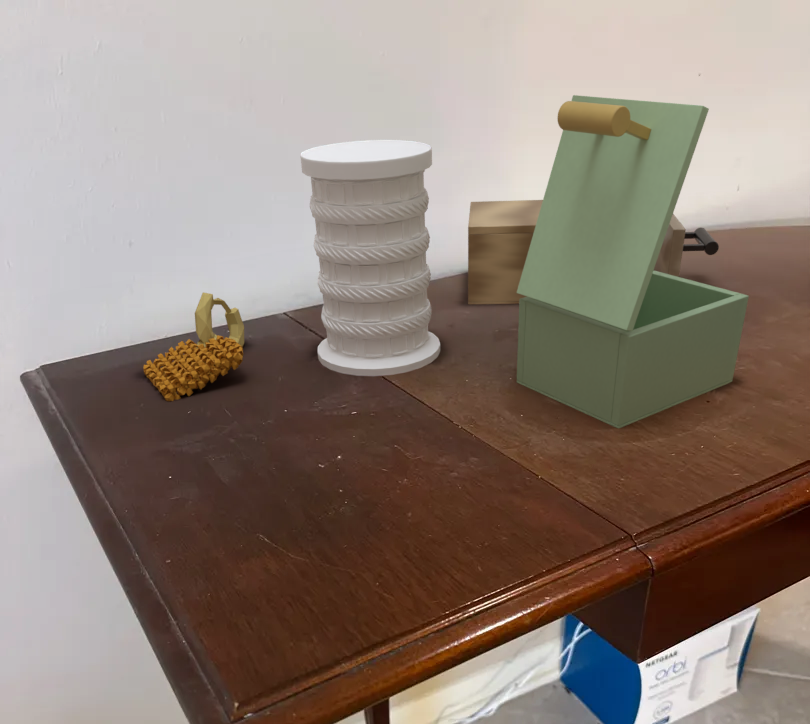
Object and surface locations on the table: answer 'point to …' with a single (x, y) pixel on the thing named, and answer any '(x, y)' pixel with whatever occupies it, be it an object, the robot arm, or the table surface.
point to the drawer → (681, 246)
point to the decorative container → (372, 255)
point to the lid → (609, 204)
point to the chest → (633, 351)
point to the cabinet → (499, 248)
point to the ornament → (199, 354)
